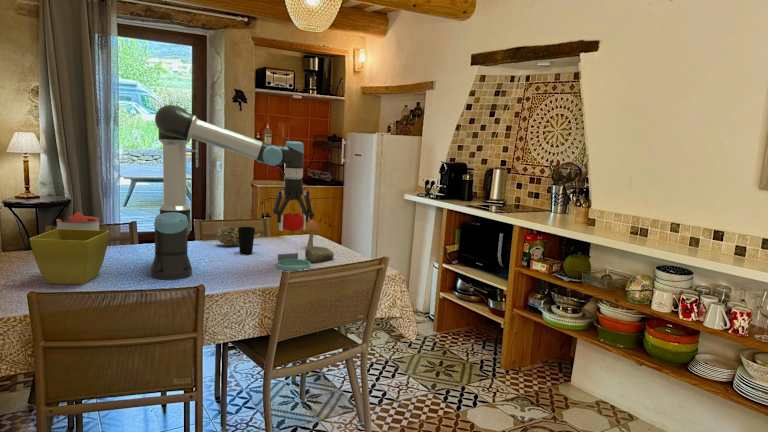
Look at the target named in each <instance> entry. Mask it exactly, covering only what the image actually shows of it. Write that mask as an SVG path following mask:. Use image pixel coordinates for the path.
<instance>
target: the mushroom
mask: <svg viewBox="0 0 768 432" xmlns="http://www.w3.org/2000/svg"><path fill="white" fill-rule="evenodd" d="M304 231H306V232H309V235H308V241H307V245H306V248H307V247H314V234H315V232H319V231H320V226H319V224H318V223H317V222H316V221H315V220H314V219H310V220H309V221H307V222H306V223H305V230H304Z"/></svg>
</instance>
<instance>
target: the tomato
mask: <svg viewBox="0 0 768 432" xmlns="http://www.w3.org/2000/svg"><path fill="white" fill-rule="evenodd" d="M303 223H304V221H303V217H302V214H300V213H299V212H293V213H292V212H288V213H285V214H284V215H283V229H284V230H286V231H289V232H298V231H300V230H302V229H301V228H302V227H303Z"/></svg>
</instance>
